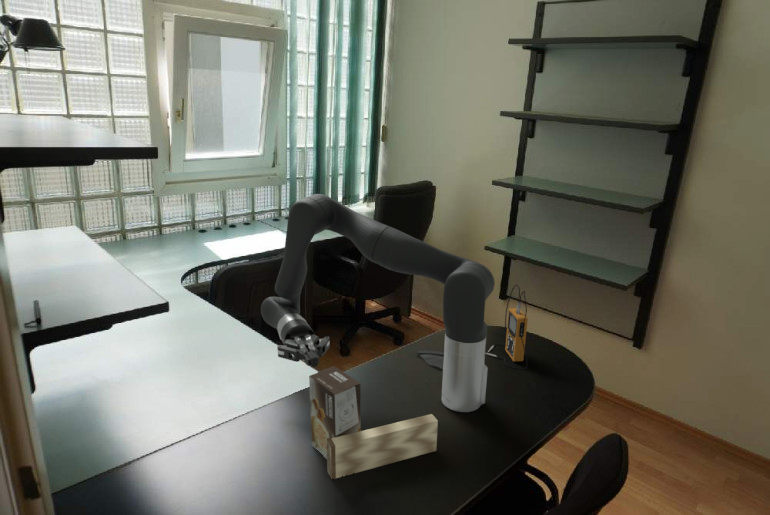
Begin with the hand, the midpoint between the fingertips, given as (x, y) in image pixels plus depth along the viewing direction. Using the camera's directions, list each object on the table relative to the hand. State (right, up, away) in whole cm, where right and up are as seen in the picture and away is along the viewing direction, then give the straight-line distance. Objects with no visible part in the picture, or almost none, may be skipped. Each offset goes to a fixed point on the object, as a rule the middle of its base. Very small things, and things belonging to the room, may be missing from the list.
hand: (314, 362), depth 113 cm
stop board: (+15, -17, -12) cm, 25 cm away
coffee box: (+6, -16, -9) cm, 19 cm away
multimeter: (+48, -5, +30) cm, 56 cm away
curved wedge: (+31, -6, +27) cm, 42 cm away
